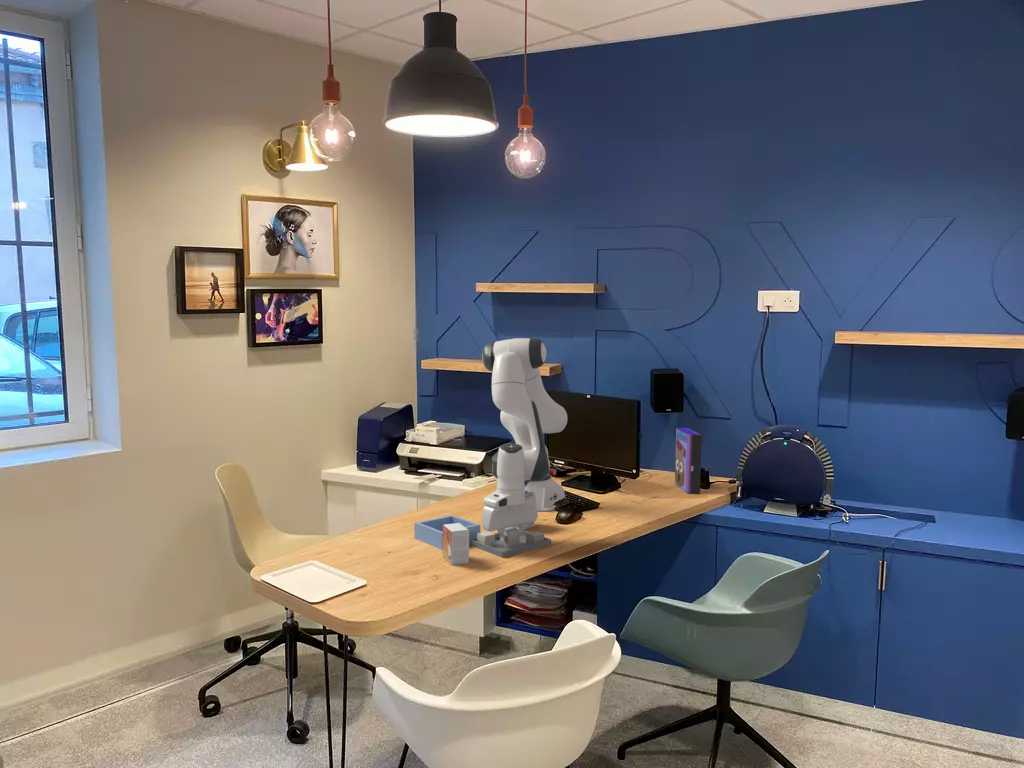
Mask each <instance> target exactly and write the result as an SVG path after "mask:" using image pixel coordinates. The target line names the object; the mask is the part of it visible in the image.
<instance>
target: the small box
mask: <svg viewBox="0 0 1024 768" xmlns="http://www.w3.org/2000/svg"><path fill="white" fill-rule="evenodd" d="M442 558H443V559H444V561H446V562H447V563H448V564H449V566H450V567H451V566H455V565H462V564H469V563H470V543H469V529H467V528H465V527H464V526H463V525H462V524H461V523H455V524H445V525H443V550H442Z"/></svg>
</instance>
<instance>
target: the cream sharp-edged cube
mask: <svg viewBox="0 0 1024 768" xmlns="http://www.w3.org/2000/svg"><path fill="white" fill-rule="evenodd" d="M477 542H480V543H482V544H485V545H488V546H493V545H495V533H493V532H491V531H487V530H485V531H482V532H480V533H477Z"/></svg>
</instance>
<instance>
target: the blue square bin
mask: <svg viewBox="0 0 1024 768" xmlns="http://www.w3.org/2000/svg"><path fill="white" fill-rule="evenodd" d="M455 523H461V524H462V525H463V526H464V527H465V528H467V529H469V544H470V539H474V538H477V533H481V524H480V523H476V522H474V521H471V520H468V519H465V518H463V517H460V516H457V515H454V514H450V515H446V516H445V515H444V516H442V517H437V518H431V519H427V520H422V521H417V522H414V540H417V541H420V542H423V543H425V544H427V545H429V546H432V547H434V548H437V549H439V550H442V551H443V525H445V524H455Z"/></svg>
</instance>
